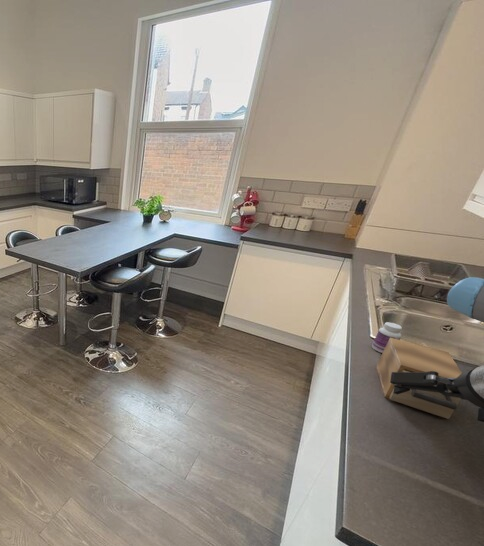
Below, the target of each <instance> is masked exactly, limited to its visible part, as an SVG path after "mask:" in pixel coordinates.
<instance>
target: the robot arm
mask: <svg viewBox="0 0 484 546" xmlns="http://www.w3.org/2000/svg"><path fill="white" fill-rule="evenodd" d="M446 304H447V306H448V307H449V308H450V309H451V310H453V311H455V312H457V313H460V314H462V315H464V316H466V317H468V318H470V319H472V320H476V321H478V322H481V323H483V324H484V278H481V277H477V276H469V277H466V278H463V279H461V280H459V281H458V282H456V283H455V284H454V285H453V286H452V287H451V288H450V289H449V291H448V294H447V299H446ZM438 374H439V373H438V372H435V371H428V372H392V373H391V379H390V383H392V384H394V392H393V393H395V394H401V393H404V392H407V391H410V389H416V390H424V391H431V392H439V393H441V394H443V395H445V396H451V397H458V398H461V400H465V401H468V402H469V403H470V404H472V405H474V406H476V407H478V411H477V421H478V422H481V423H484V364H483V365H480V366H477V367H473V368H470V369H467V370H465V371H463V372H462V374H460V375H459V376H458V377H457V378H441V377H438ZM448 389H449V390H450V391H451V392H448Z"/></svg>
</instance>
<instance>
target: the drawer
mask: <svg viewBox="0 0 484 546" xmlns="http://www.w3.org/2000/svg"><path fill="white" fill-rule="evenodd" d="M402 372H413V371H409V370H406V369H404V370H403V371H402ZM393 392H394V389H393V391H392V393H391V395H390V396H389V398H390V399H389V400H390V401H394V402H395V403H396V402H397V403H400V404H402V405H405V406H409V407H411V408H414V409H417V410H420V411H423V412H426V413H430V414H432V415H436V416H438V417H441V418H445V419H447V420H450V418H451V417H452V415H453V413H454V412H455V411H456V409H457V407H458V405H459V404H460V402H461V401H462V399H461V398H458V397H451V396H445V395H443V394H441V393H439V392H431V391H424V390H416V389H410V391H407V392H404V393H401V394H395V393H393ZM448 392H451V391H450V390H449V389H448Z"/></svg>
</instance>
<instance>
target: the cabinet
mask: <svg viewBox="0 0 484 546" xmlns="http://www.w3.org/2000/svg"><path fill="white" fill-rule="evenodd" d="M375 368H376V372H377V375H378V378H379V382H380V387H381V391H382V393H383V397H384V398H385V399H388V400H390V398H389V396H390V395H391V393H392V391H393V389H394V384H392V383H390V379H391V373H392V372H402V371H403V370H404V369H406V370H409V371H413V372H428V371H435V372H438V373H439V374H438V377H441V378H457V377H458V376H459V375H460V374H462V373H463V372H462V371H461V369H460V368H459V366H458V364H457V363H456V361H455V360H454V359H453V357H452V355H451V354H450V352H449V351H445V350H441V349H437V348H433V347H430V346H426V345H422V344H417V343H414V342H410V341H406V340H401V339H400V340H398V339H394V338H389V341H388V343H387V345H386V347H385V349H384V351H383V353H381V356H380V358H379V360H378V362H377V365H376V367H375Z"/></svg>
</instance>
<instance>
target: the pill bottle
mask: <svg viewBox="0 0 484 546" xmlns="http://www.w3.org/2000/svg"><path fill="white" fill-rule="evenodd" d="M402 330H403V328H402V326H401V325H399V324H397V323H394V322H388V321H386V322H385V323H384V324H383V326H382V327H380V328H378V331H377V334H376V336H375V338H374V340H373V342H372V344H371V347H372V349H373V350H374V351H376V352H378V353H380V354H382V353H383V351H384V349H385V347H386V345H387V343H388V341H389V338H394V339H398V340H401V338H402V334H401V331H402Z"/></svg>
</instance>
